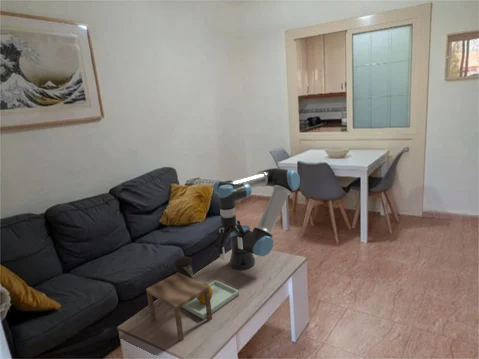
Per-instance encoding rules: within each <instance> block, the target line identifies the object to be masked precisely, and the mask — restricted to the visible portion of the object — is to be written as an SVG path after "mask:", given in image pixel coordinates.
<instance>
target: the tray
mask: <svg viewBox="0 0 479 359" xmlns="http://www.w3.org/2000/svg"><path fill="white" fill-rule="evenodd" d="M207 285H209V286H210V287H211V288H212V292H213V294H212V298H211V300H210V303H211V312H212V314H214V313H215V312H216V311H218V310H220V309H221V308H223V307H224V306H225V305H227V304H228V303H230V302H231V301H233V300H234V299H236V298H237V297H238V296H240V294H239V293H240V292H239V290H238V289H236V288H234V287H231V286H230V285H227V284H225V283H223V282H221V281H218V280H213V281H212V282H210V283H209V284H207ZM181 308H183V309H184V310H186V311H188V312H189V313H191V314H193V315H195V316H197V317H198V318H200V319H202V320H205V319H207V313H206V304H203V303H201V302H200V301H199V300H198V299H197V298H195V299H193V300H192V301H190V302H189V303H187V304H185V305H184V306H182V307H181Z"/></svg>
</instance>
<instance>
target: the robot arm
mask: <svg viewBox="0 0 479 359" xmlns="http://www.w3.org/2000/svg"><path fill="white" fill-rule="evenodd" d="M300 181H301V178H300V174H299V173H298V172H297V171H296V170H293V169H285V168H284V169H283V168H275V167H274V168H273V167H271V168H267V169H264V170H263V169H262V170H259V171H257V172H256V173H254V174H251V175H246V176H242V177H238V178H234V179H230V180H229V179H228V180H225V181H222V180H217V181H216V182H214V184H213V186H212V187H213V188H212V189H213V192H214V193H215V194H216V195H218V196H217V197H218V202H219V212H220V221H221V224H222V227H218V229H217V236H216V240H215V245H214V247H215V249H218V253H219V256H220V259H221V260H223V261H224V260H226V255H225V254H226V251H225V247H224V245H225V243H226V241H227V238H228V237H230V238H229V239H230V245H231V248H230V249H231V255H230V259H229V266H230V267H231V268H232V269H234V270H240V271H241V270H247V269H248V270H249V269H251V268H253V267H254V266H255V264H256V259H255V256H258V257H265V256H267V255H269V254H270V253H271V251H272V250H273V248H274V239H273V230H274V228H275V225H276V224H277V221H278V218H279V216H280V215H281V211H282V210H283V207H284V205H285V202H286V201H287V197H289V196H291V195H292V193H293V191H297V190H298V189H299V188H300V183H301V182H300ZM257 187H272V189H273V192H272V194H271V195H270V198H269V200H268V203H267V204H266V207H265V210H264V212H263V214H262V216H261V218H260V220H259V222H258V225H256V226H254V227H253V228H252V231H251V228H250V226H248V225H241V220H238V219H237V216H236V207H235V206H236V205H235V204H236V203H235V202H239V201H240V200H243V199H246V198H248V197H250V196H251V195H252V189H254V188H257ZM229 235H230V236H229ZM254 255H255V256H254Z"/></svg>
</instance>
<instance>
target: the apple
mask: <svg viewBox="0 0 479 359" xmlns="http://www.w3.org/2000/svg"><path fill="white" fill-rule="evenodd" d="M203 284H204V285H206V286H208V287H209V293H210V300H211V298H212V294H213V292H212V288H211V287H210V286H209V285H208V284H206V283H203ZM197 299H198V300H199V301H200V302H201V303H203V304H205V294H204V293H203V294H201V295H200V296H198V297H197Z"/></svg>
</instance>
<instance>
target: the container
mask: <svg viewBox="0 0 479 359" xmlns="http://www.w3.org/2000/svg"><path fill="white" fill-rule="evenodd" d="M192 262H193V259H192V257H190V256H180V257H179V256H178V258H176V259H175V260H174V262H173V264H174V266H175V270H176V271H175V272H176V273H177V272H179V273H181V274H183V275H185V276H187V277H189V278H192V279H194V273H193V266H192Z"/></svg>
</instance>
